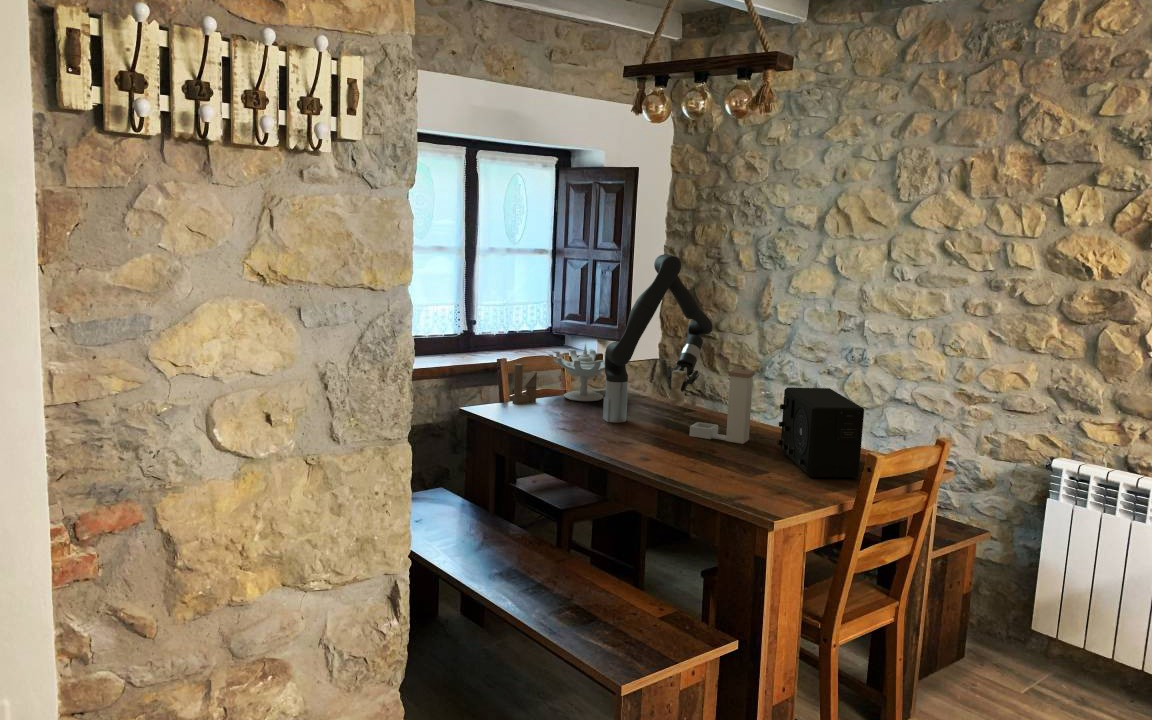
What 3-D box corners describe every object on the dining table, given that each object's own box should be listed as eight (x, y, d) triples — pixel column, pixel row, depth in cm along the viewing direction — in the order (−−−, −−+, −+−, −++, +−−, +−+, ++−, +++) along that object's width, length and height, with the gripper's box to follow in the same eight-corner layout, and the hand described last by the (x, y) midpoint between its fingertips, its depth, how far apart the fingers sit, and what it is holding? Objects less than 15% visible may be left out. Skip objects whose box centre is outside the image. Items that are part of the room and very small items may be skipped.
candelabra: (629, 405, 407) (631, 346, 402) (554, 406, 399) (555, 346, 395) (610, 390, 440) (612, 336, 435) (540, 391, 432) (542, 336, 427)
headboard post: (689, 435, 355) (693, 367, 350) (697, 431, 362) (701, 364, 358) (743, 444, 344) (748, 374, 340) (750, 439, 352) (755, 371, 347)
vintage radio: (772, 450, 337) (776, 385, 333) (822, 451, 339) (827, 386, 334) (802, 480, 300) (808, 407, 296) (859, 480, 302) (865, 408, 297)
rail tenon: (670, 404, 368) (672, 371, 365) (674, 403, 372) (676, 370, 369) (679, 406, 366) (682, 372, 363) (683, 404, 370) (686, 371, 367)
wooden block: (536, 402, 408) (537, 363, 405) (516, 404, 401) (517, 365, 398) (531, 400, 411) (532, 362, 408) (512, 403, 404) (512, 364, 401)
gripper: (671, 349, 375) (658, 382, 366) (703, 353, 368) (690, 386, 360) (674, 360, 380) (662, 392, 372) (706, 364, 374) (694, 397, 365)
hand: (676, 389), depth 366 cm, fingers closed on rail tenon, 4 cm apart
